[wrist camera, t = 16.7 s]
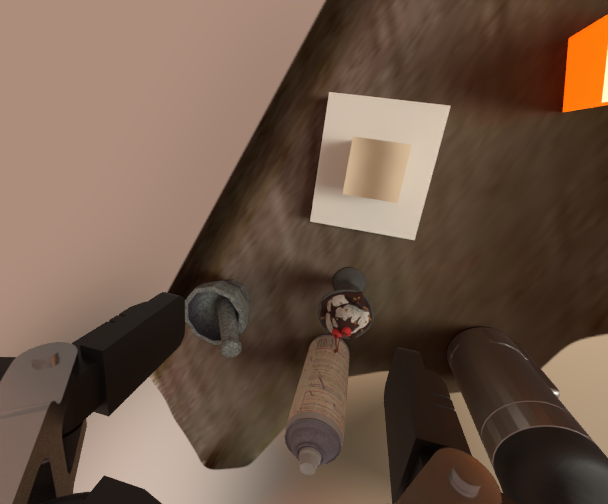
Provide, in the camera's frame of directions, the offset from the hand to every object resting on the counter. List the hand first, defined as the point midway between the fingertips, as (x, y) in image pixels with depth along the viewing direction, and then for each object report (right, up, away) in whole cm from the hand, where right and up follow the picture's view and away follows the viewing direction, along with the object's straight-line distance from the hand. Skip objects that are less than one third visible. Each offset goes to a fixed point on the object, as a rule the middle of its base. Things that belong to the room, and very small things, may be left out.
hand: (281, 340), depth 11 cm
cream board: (+10, +15, +29) cm, 34 cm away
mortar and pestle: (-11, -5, +39) cm, 41 cm away
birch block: (+10, +14, +26) cm, 31 cm away
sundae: (+8, -1, +34) cm, 35 cm away
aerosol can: (+5, -13, +39) cm, 41 cm away
